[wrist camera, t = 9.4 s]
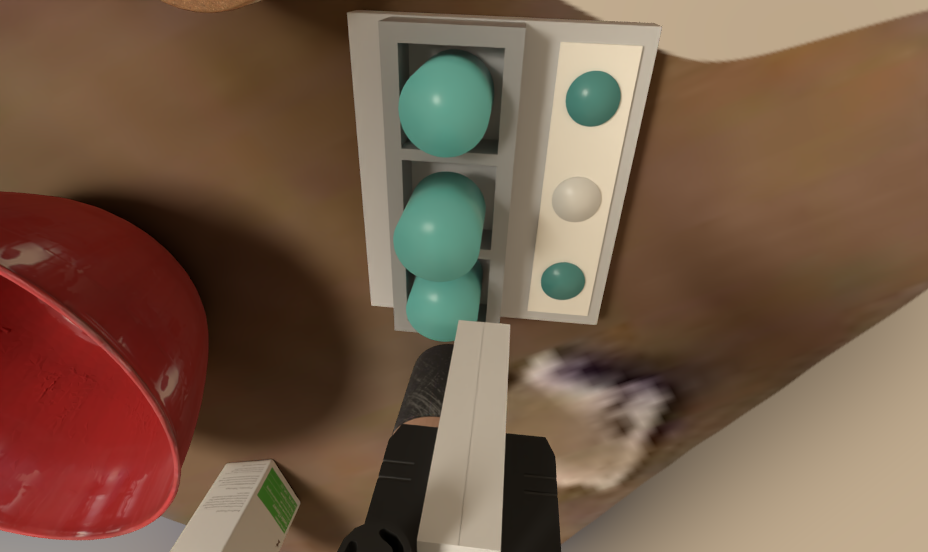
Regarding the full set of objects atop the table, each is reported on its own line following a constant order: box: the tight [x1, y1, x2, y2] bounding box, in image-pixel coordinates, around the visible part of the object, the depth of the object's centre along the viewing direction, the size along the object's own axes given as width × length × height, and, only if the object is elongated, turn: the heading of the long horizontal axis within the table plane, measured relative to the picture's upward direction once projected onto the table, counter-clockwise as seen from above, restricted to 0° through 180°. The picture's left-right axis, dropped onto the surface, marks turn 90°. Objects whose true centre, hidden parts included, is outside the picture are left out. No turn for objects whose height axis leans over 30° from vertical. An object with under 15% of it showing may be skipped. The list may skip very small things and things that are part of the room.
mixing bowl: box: [0, 192, 209, 540], centre depth 38 cm, size 28×28×16 cm
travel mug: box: [392, 344, 454, 435], centre depth 37 cm, size 8×8×20 cm
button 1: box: [398, 49, 494, 157], centre depth 28 cm, size 5×5×5 cm
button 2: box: [393, 171, 486, 282], centre depth 29 cm, size 5×5×5 cm
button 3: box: [406, 259, 483, 342], centre depth 35 cm, size 5×5×5 cm
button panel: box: [347, 10, 662, 332], centre depth 33 cm, size 21×18×5 cm
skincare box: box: [170, 459, 300, 552], centre depth 51 cm, size 8×7×16 cm
